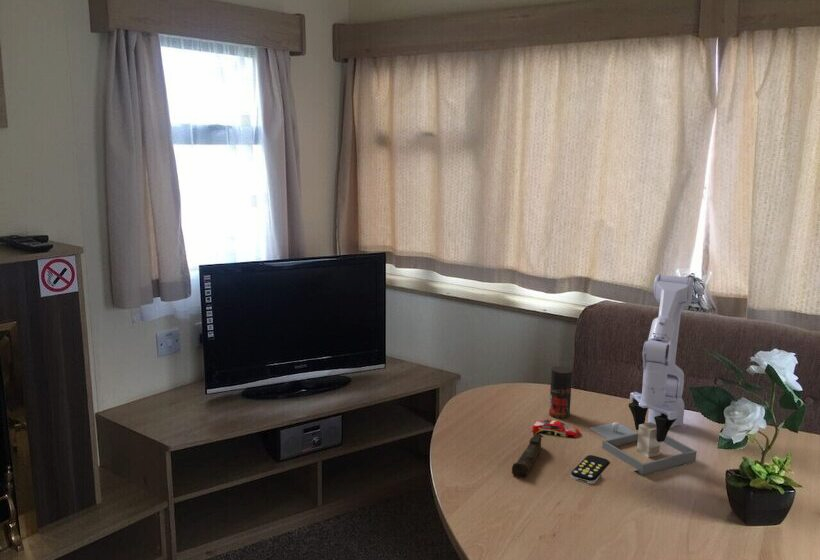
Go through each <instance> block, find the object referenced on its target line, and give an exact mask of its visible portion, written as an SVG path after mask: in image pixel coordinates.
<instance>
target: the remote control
mask: <svg viewBox="0 0 820 560" xmlns="http://www.w3.org/2000/svg"><path fill="white" fill-rule="evenodd" d="M609 464H610V460H608V459H607V458H604V457H601V456H597V455H592V454H588V455H587V456H586V457H584V459H583V460H581V461H580V463H578V464H577V466H575V468H573V469H572V471H571V472H570V477H571V478H572V480H575V481H578V482H582V483H585V484H589V485H592V484H595V483H596V482H597V481H599V479H600V478H601V477H602V474H601V473H602V472H603V471H604V470H605V469H606V468H607V467H608V466H609Z"/></svg>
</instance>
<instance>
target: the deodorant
mask: <svg viewBox="0 0 820 560" xmlns="http://www.w3.org/2000/svg"><path fill="white" fill-rule="evenodd" d="M550 371H551V374H550V375H551V376H550V390H549V391H550V392H549V394H550V395H549V405H548V406H549V409H548V410H549V411H548V415H549V417H550V418H554V419H557V420H565V419H568V418H570V417H571V416H570V414H571V397H572V385H573V383H572V381H573V369H572V368H570V367H569V366H563V365H560V366H558V365H556V366H553V367H552V368H551V370H550Z"/></svg>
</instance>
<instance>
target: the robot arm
mask: <svg viewBox="0 0 820 560" xmlns="http://www.w3.org/2000/svg"><path fill="white" fill-rule="evenodd" d="M694 282H695V281H694V279H693V277H690V276H689V277H687V276H677V275H667V274H665V275H664V274H660V273H658V274H657V275H655V278H654V283H653V294H654V297H655V299H656V302H657V303H659V309H658V316H657V317H655V318H654V319H653V320H652V322H651V326H650V329H649V330H650V331H649V334H648V339H647V340H645V341H644V343H643V349H642V368H643V374H642V387H641V388H642V389H641V392H637V391H633V392H630V393H629V394H630V395H629V400H630V401H632V402H629V403H628V407H629V410H630V412H631V414H632V417H633V422H634V427H635V430H636V431H639V425H640V424H644V423H646V416H647V423H649V422H651V423H653V424H655V425H656V428H657V433H656V439H657V441H658V442H661V443H663V442H662V441H665V438H666V435H667V436H668V432H669V430H670V429H672V428H673V427H675V426H680V427H682V428H685V427H686V426H685V425H683V424H684V415H685V402H684V400H683V398H682V396H683V392H684V386H685V379H684V378H685V373H684V371H683V369H682V368H680V367H679V366H678V365H677V364H676V358H677V357H676V356H677V347H678V340H679V332H680V326H681V324H680V323H681V316H682V311H683V309H684V308H685V307H690V306H691V303H692V300H693V294H694V286H695V285H694V284H695V283H694ZM647 413H648V415H647Z"/></svg>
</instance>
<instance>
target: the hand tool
mask: <svg viewBox="0 0 820 560" xmlns="http://www.w3.org/2000/svg"><path fill="white" fill-rule="evenodd" d="M539 434H540V433H539ZM539 434H536V435H535V434H533V436H532V437H531V438H530V439H529V444H527V447H526V449H524V451H523V452H522V454H521V455H520V457H519V458H518V460H517V461H516V462H514V463H513V464H512V466H511V474H512V475H513V477H518V478H521V479H524V478H527V476H528V473H529V470H530V469H531V467H532V465H533V464H534V462H535V460H536V458H537V457H539V455H540V453H541V447H542V437H541V435H542V434H540V435H539Z"/></svg>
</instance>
